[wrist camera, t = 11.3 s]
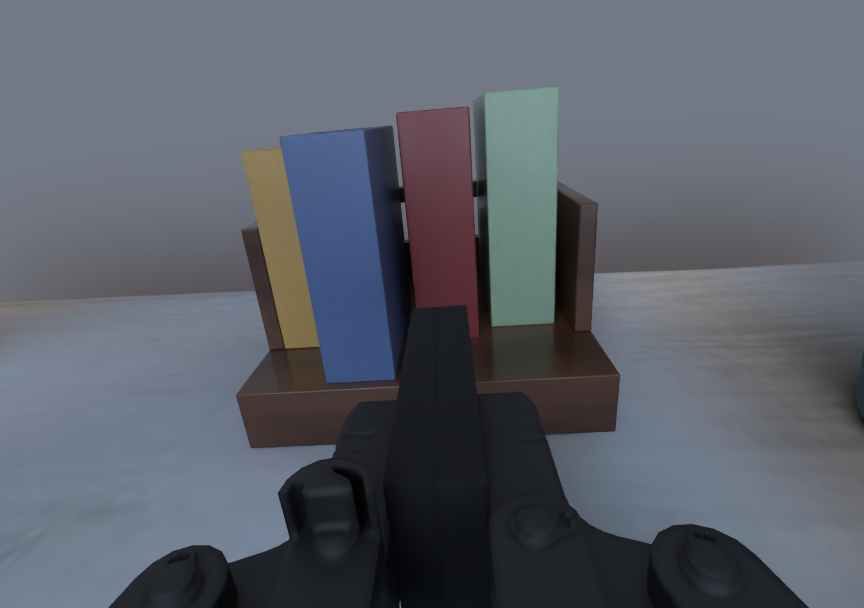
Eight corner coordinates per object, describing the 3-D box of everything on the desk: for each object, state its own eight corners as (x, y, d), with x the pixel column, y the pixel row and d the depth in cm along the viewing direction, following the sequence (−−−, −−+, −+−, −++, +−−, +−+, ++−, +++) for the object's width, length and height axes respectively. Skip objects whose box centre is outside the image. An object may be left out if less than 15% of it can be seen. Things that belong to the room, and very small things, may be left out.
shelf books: (479, 338, 22) (468, 106, 19) (284, 349, 23) (234, 126, 19) (470, 278, 31) (462, 109, 27) (327, 288, 31) (298, 124, 27)
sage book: (554, 323, 23) (560, 85, 19) (491, 327, 23) (483, 92, 19) (526, 269, 32) (526, 95, 28) (480, 272, 32) (472, 100, 28)
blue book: (395, 380, 19) (363, 129, 16) (326, 383, 20) (278, 136, 16) (410, 301, 28) (392, 125, 24) (362, 304, 28) (336, 130, 24)
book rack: (615, 431, 20) (633, 222, 16) (250, 448, 20) (195, 253, 17) (545, 301, 33) (547, 174, 30) (329, 314, 34) (308, 192, 31)
